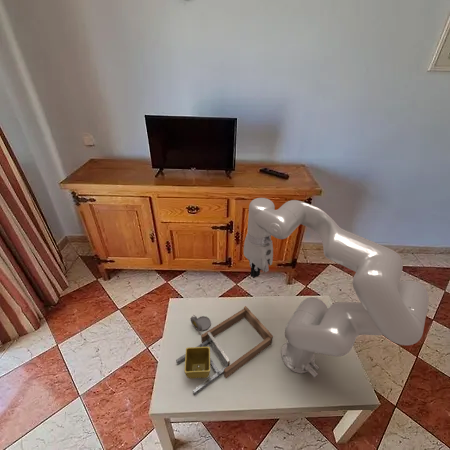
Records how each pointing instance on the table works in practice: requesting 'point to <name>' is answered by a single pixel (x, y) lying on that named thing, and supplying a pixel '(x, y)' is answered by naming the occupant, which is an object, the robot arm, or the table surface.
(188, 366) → the flower pot
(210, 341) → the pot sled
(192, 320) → the pocket watch
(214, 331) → the frame
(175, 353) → the table surface
